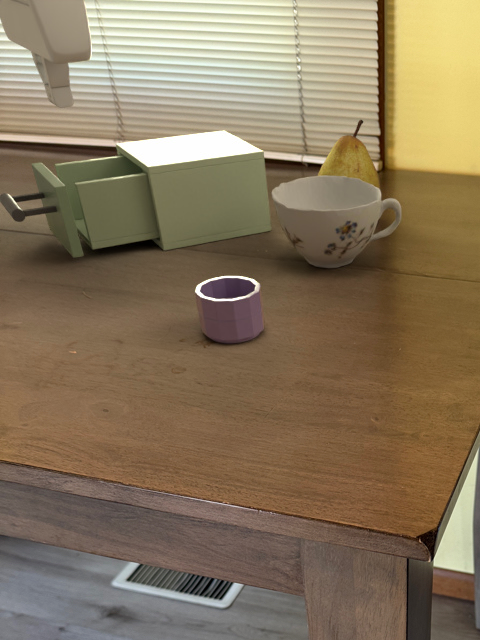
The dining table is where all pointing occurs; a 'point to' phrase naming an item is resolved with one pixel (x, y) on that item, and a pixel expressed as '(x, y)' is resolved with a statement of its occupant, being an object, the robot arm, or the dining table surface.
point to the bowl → (230, 308)
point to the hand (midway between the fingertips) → (62, 105)
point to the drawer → (92, 203)
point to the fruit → (350, 160)
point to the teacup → (331, 217)
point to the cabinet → (203, 187)
